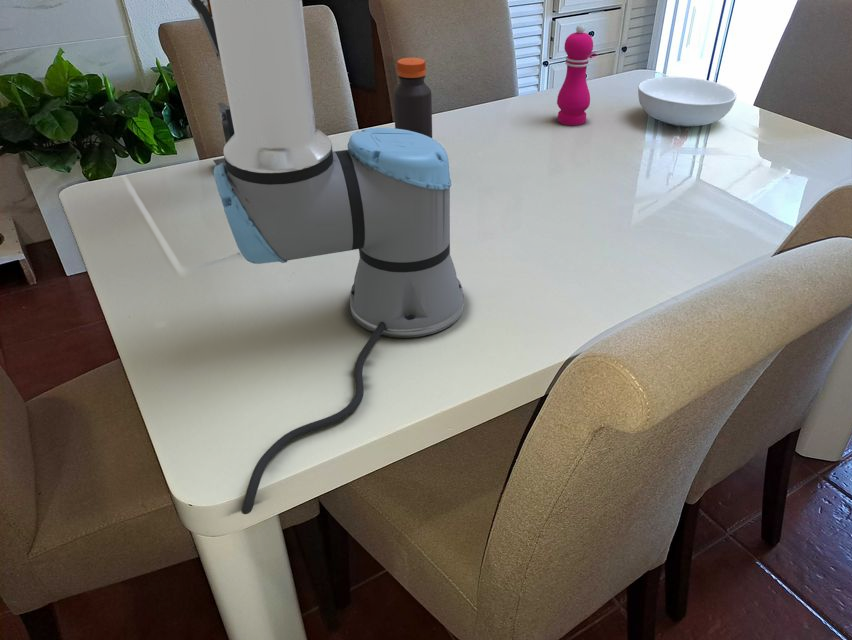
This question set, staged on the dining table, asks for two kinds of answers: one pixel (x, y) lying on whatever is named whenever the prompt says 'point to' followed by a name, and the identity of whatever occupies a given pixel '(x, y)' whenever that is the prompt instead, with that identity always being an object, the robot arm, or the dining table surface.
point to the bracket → (225, 126)
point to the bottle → (413, 97)
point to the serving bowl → (685, 100)
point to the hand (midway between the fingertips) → (250, 104)
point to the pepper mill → (575, 79)
